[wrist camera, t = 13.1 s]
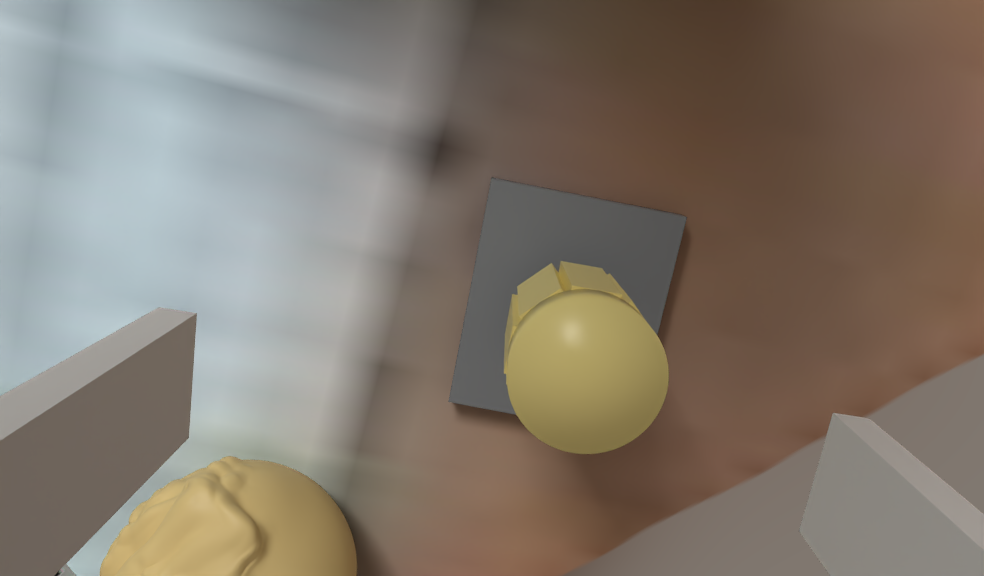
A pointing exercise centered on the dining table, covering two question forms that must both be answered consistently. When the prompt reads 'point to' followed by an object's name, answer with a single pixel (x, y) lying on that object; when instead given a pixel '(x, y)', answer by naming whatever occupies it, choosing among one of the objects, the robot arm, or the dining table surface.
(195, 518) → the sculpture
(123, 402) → the robot arm
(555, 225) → the grey plate with rod
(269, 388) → the dining table surface
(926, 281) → the dining table surface
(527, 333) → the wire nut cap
